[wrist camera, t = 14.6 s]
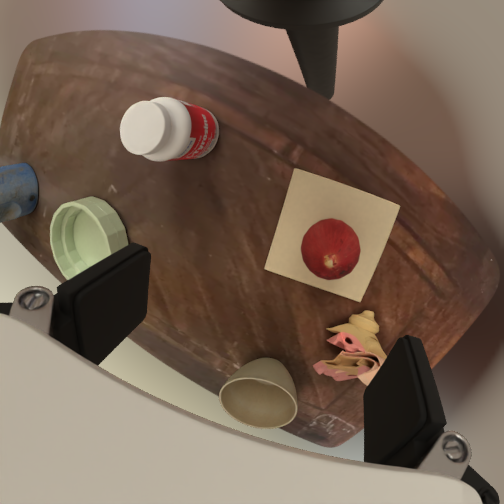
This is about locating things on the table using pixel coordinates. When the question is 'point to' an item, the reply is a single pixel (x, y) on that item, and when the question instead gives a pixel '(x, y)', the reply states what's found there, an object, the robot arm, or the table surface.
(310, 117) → the table surface
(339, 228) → the onion
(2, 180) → the bottle
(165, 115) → the pill bottle
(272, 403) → the beige deep bowl
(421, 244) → the table surface
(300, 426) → the table surface
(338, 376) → the pink conch seashell
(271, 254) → the cream square tile
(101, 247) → the bowl
